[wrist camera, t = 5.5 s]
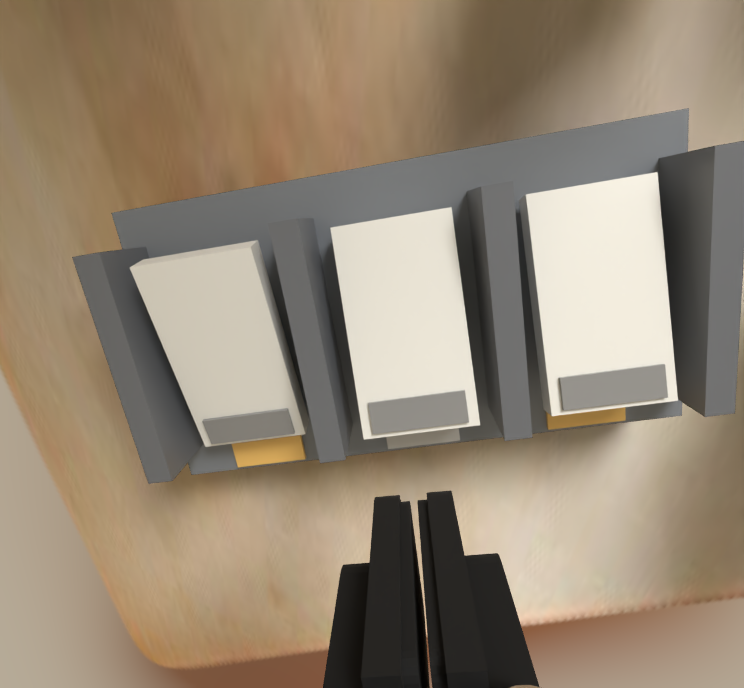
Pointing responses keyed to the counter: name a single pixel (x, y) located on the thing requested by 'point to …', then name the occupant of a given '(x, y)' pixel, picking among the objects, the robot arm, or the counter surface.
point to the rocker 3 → (599, 295)
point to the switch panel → (478, 277)
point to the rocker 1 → (224, 342)
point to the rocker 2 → (406, 324)
